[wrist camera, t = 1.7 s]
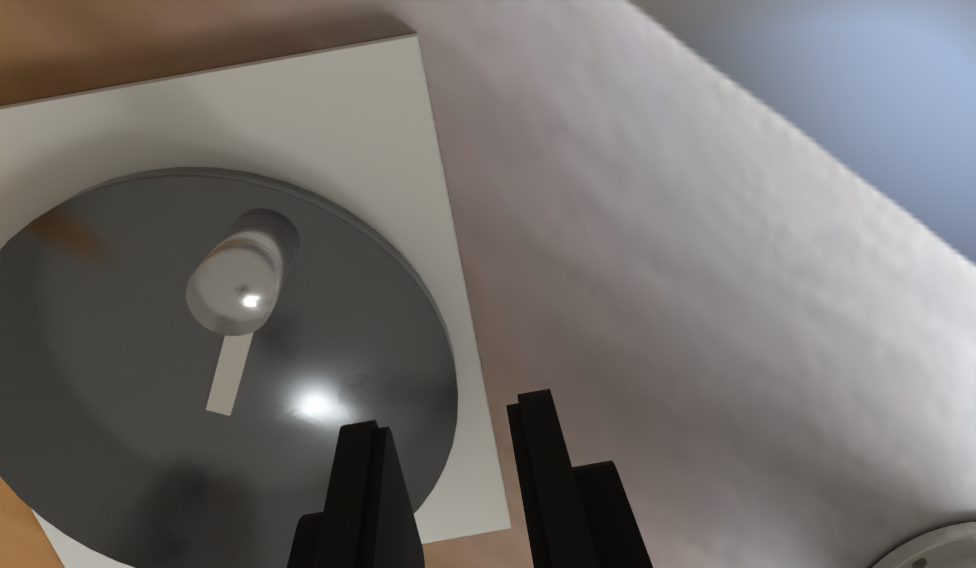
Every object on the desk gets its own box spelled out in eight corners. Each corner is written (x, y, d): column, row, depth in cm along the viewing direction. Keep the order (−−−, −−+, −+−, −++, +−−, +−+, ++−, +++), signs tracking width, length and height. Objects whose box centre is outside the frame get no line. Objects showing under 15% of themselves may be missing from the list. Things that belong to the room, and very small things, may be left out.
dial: (406, 124, 26) (398, 170, 20) (489, 520, 34) (501, 635, 29) (-117, 216, 26) (-278, 289, 20) (94, 590, 34) (25, 719, 29)
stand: (417, 32, 26) (414, 46, 22) (508, 507, 36) (519, 583, 32) (-151, 132, 26) (-271, 166, 22) (98, 579, 36) (51, 666, 32)
